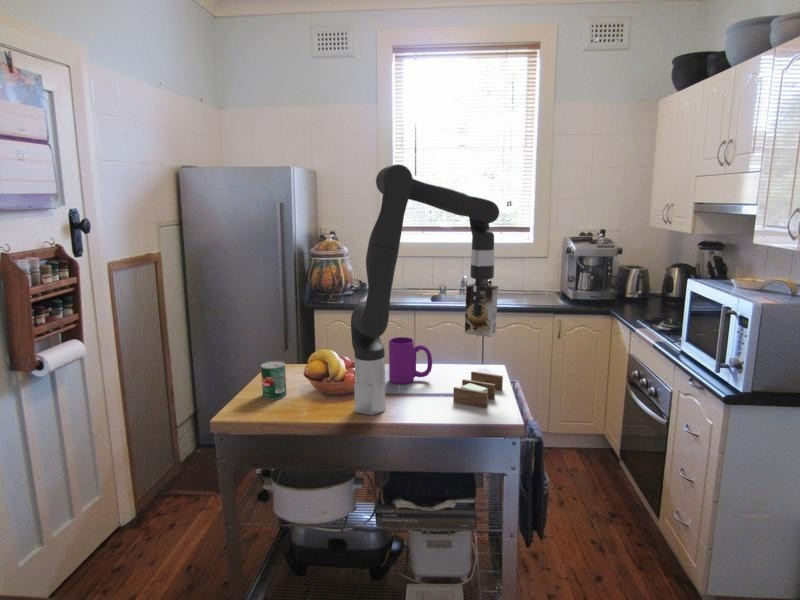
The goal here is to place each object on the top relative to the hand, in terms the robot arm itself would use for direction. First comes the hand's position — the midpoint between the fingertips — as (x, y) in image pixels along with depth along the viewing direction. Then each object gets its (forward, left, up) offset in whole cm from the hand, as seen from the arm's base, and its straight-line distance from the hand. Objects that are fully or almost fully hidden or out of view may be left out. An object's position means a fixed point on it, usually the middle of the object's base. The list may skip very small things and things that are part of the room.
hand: (480, 313), depth 173 cm
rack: (-3, -1, -27) cm, 27 cm away
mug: (+1, +26, -27) cm, 38 cm away
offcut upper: (-8, -1, -25) cm, 26 cm away
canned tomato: (-32, +61, -27) cm, 74 cm away
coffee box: (0, 0, -7) cm, 7 cm away
